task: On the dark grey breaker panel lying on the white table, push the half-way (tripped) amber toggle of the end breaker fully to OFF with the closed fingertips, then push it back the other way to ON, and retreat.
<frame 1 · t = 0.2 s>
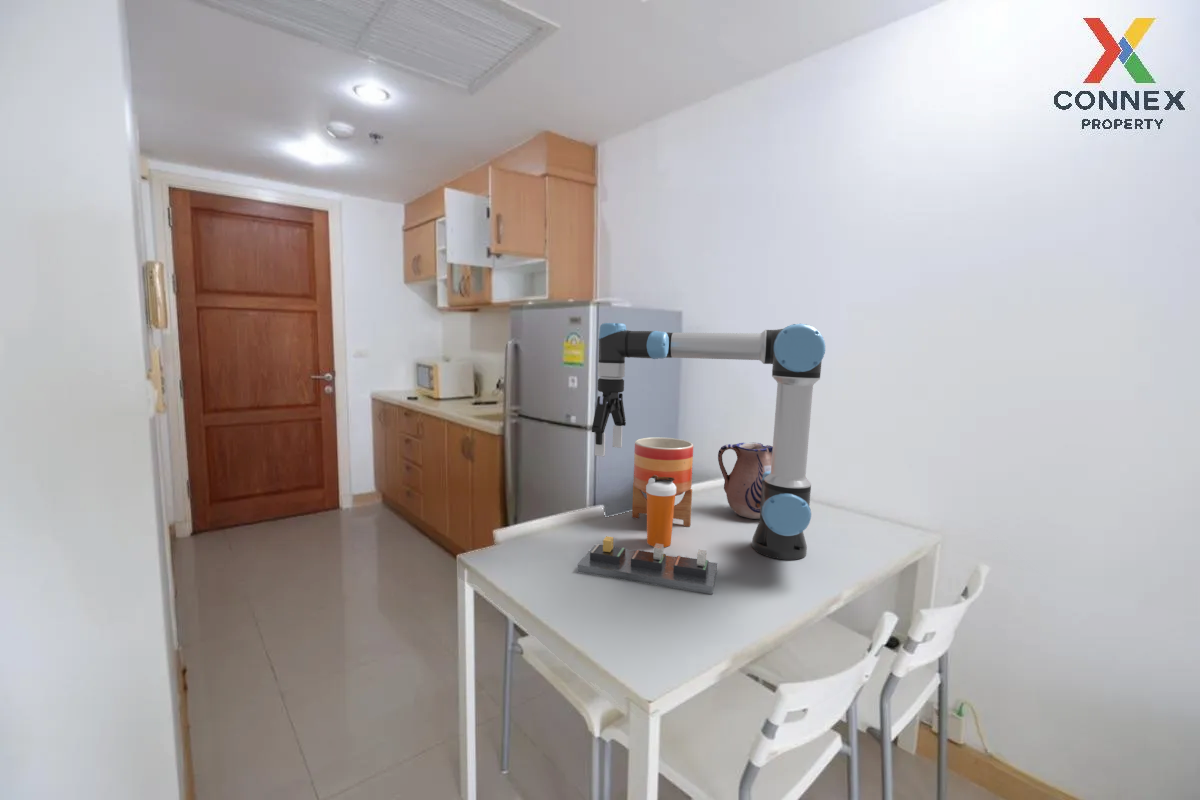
hand: (608, 451, 149), 28 cm above the table, fingers open, 13 cm apart
planter: (660, 522, 172), on the table
ceramic pitcher: (746, 515, 182), on the table
breaker panel: (648, 571, 134), on the table
shaker bottle: (658, 543, 153), on the table
tripped toggle: (608, 544, 137), point 6 cm above the table, slide at 0.0 cm
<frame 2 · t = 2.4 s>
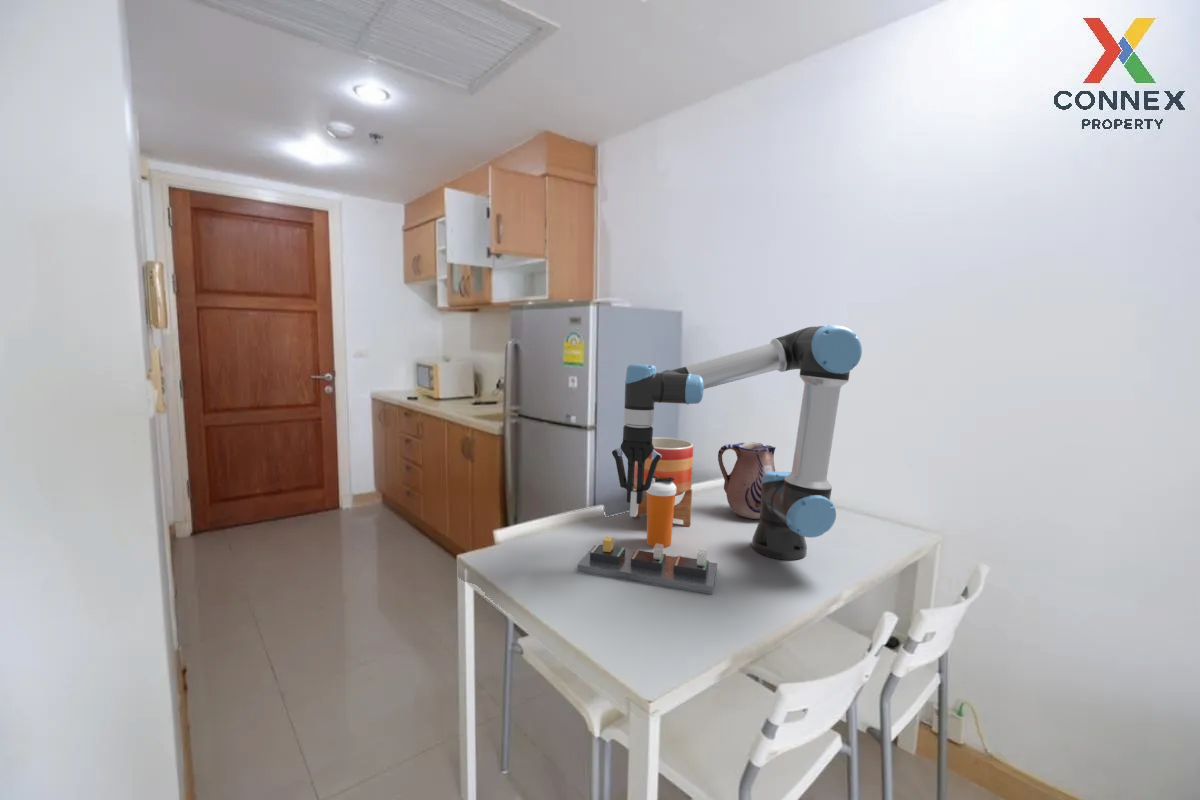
hand: (633, 515, 134), 15 cm above the table, fingers closed
nothing on the table moved.
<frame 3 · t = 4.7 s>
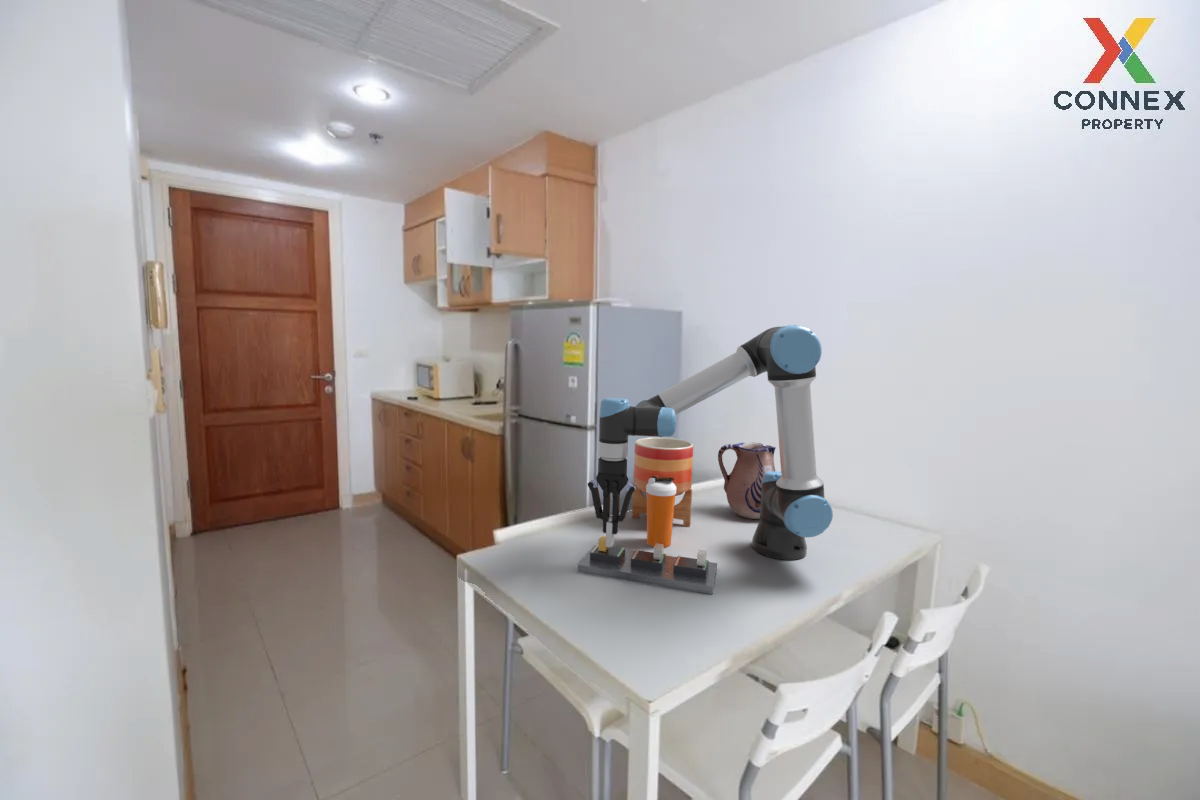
hand: (609, 544, 136), 6 cm above the table, fingers closed
tripped toggle: (603, 543, 137), point 6 cm above the table, slide at 1.2 cm, touching gripper
everything else where it was.
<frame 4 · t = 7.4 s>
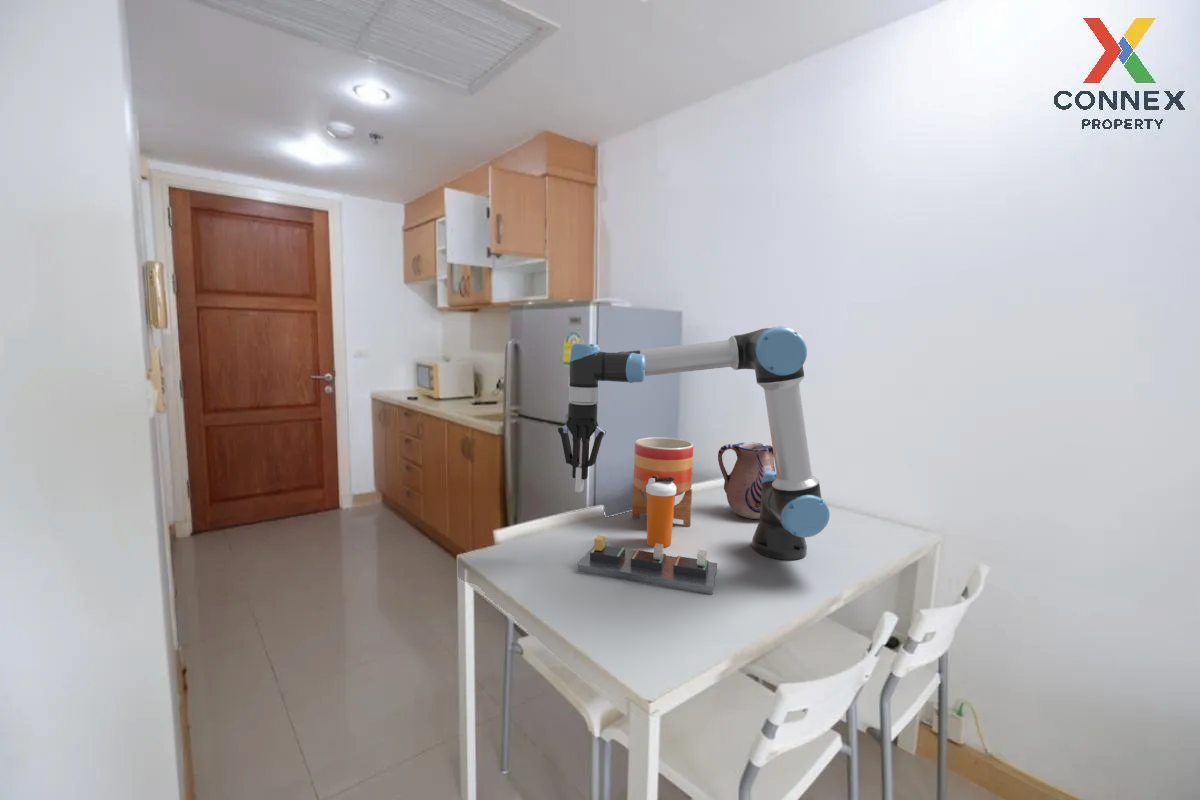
hand: (579, 490, 137), 19 cm above the table, fingers closed
tripped toggle: (599, 542, 137), point 6 cm above the table, slide at 2.4 cm
everything else where it was.
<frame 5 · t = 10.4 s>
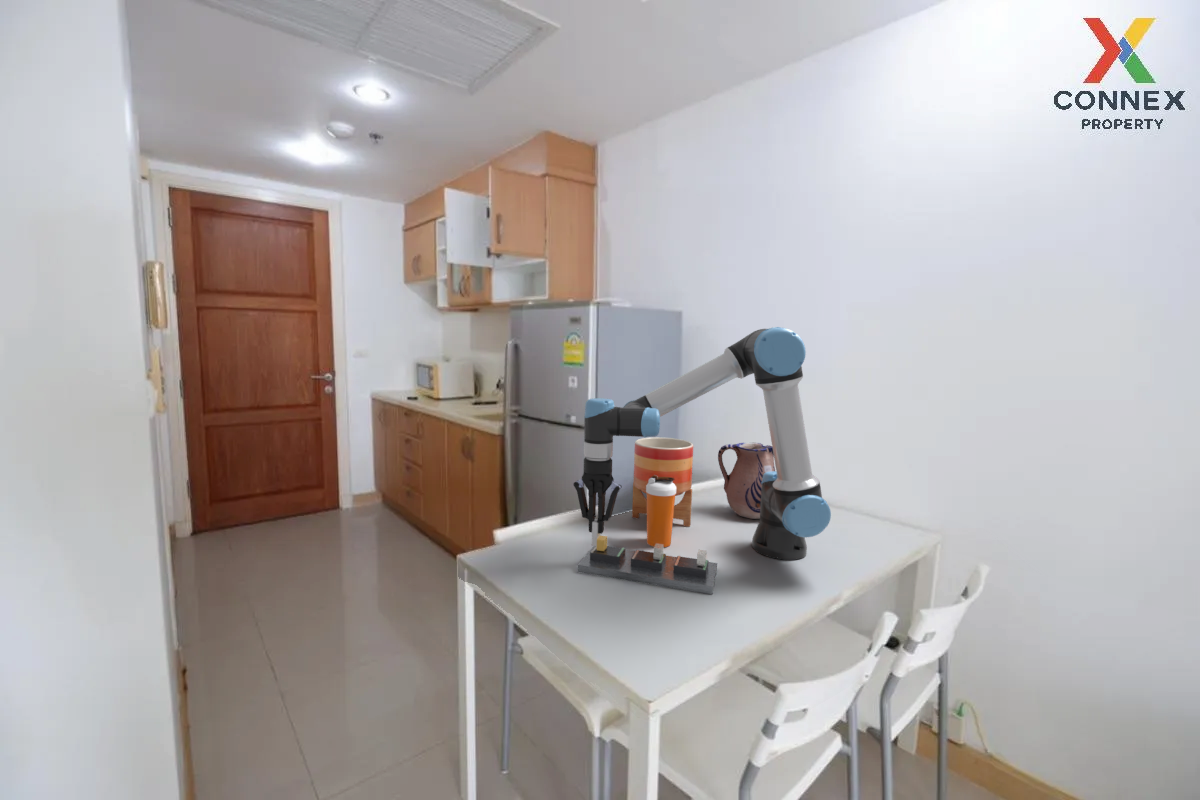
hand: (595, 544, 138), 5 cm above the table, fingers closed
tripped toggle: (602, 543, 137), point 6 cm above the table, slide at 1.7 cm, touching gripper
everything else where it was.
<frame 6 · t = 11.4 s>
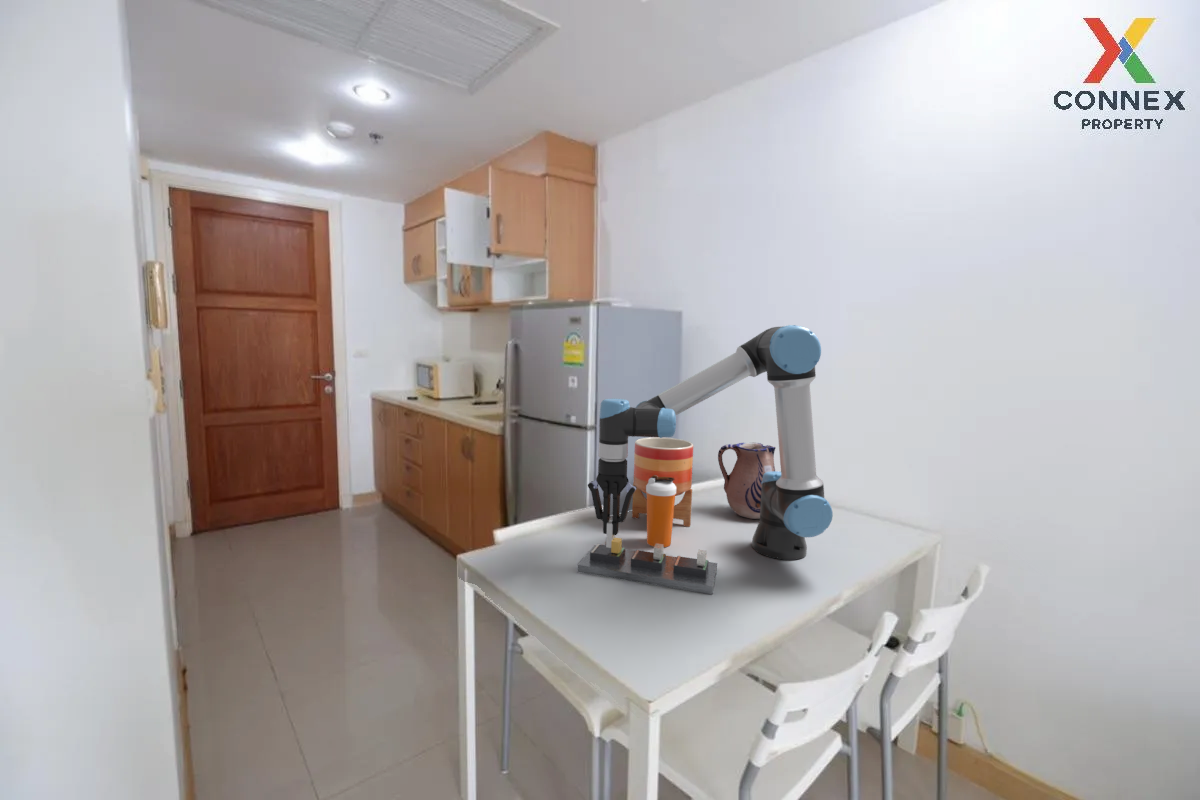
hand: (610, 545, 137), 5 cm above the table, fingers closed
tripped toggle: (616, 545, 136), point 6 cm above the table, slide at -2.3 cm, touching gripper
everything else where it was.
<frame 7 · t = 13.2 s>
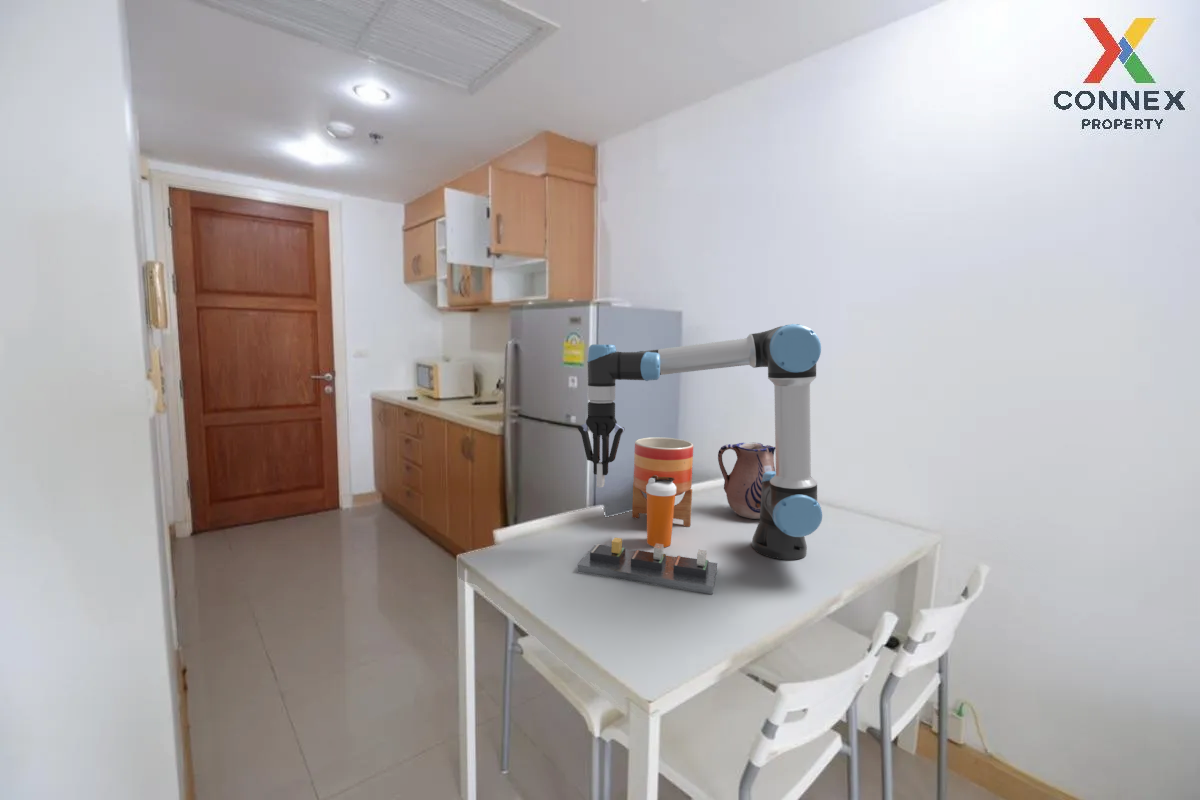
hand: (600, 486, 143), 19 cm above the table, fingers closed
tripped toggle: (616, 545, 136), point 6 cm above the table, slide at -2.4 cm
everything else where it was.
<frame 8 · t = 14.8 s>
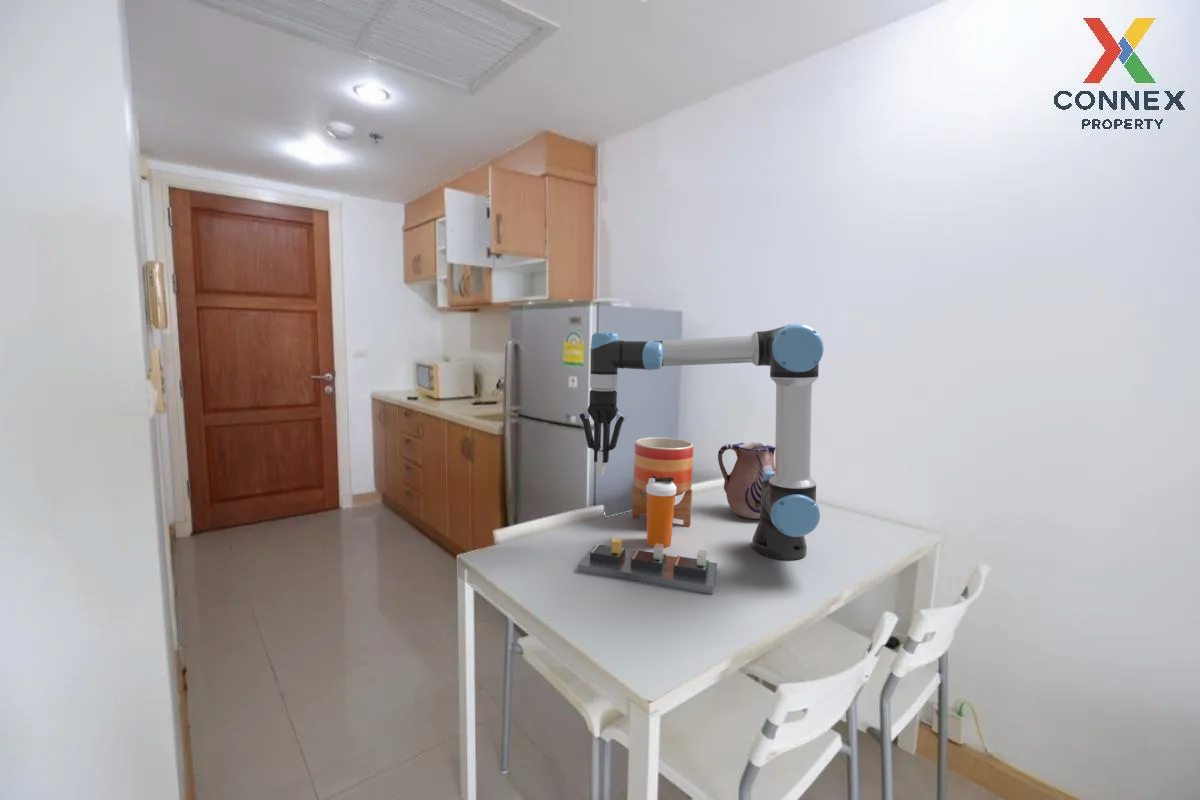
hand: (600, 473, 144), 22 cm above the table, fingers closed
nothing on the table moved.
at the end: tripped toggle slide at -2.4 cm; tripped toggle touching nothing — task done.
